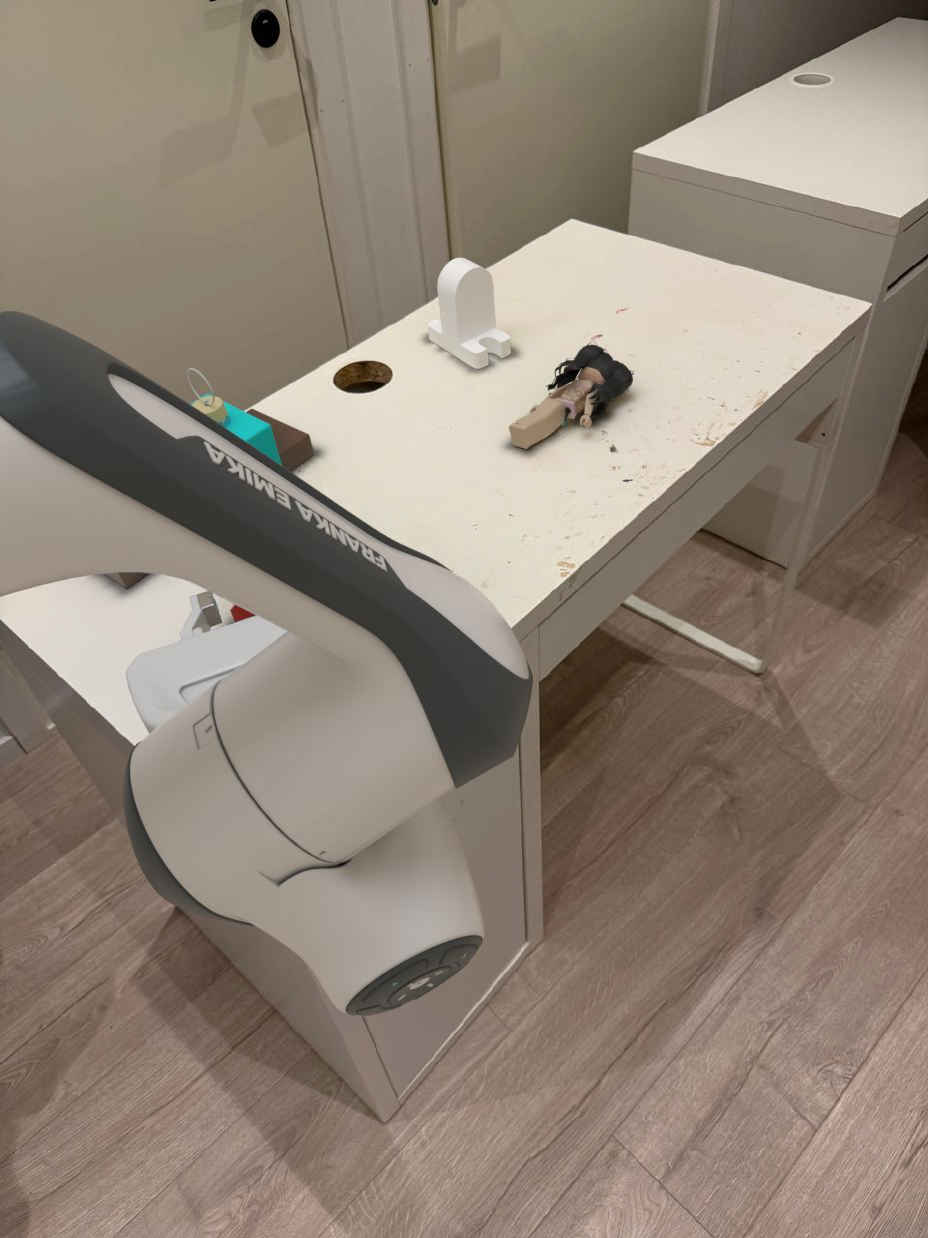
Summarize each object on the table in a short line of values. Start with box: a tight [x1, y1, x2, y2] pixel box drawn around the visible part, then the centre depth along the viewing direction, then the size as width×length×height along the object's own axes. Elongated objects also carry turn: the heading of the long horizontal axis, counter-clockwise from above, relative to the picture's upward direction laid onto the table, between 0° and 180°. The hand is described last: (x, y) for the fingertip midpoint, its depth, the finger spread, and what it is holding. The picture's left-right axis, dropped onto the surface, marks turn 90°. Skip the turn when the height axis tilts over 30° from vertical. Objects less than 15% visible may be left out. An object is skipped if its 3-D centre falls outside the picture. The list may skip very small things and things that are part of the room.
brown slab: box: [104, 408, 315, 590], centre depth 87 cm, size 24×9×2 cm, turn 141°
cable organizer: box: [427, 257, 512, 370], centre depth 101 cm, size 5×10×10 cm, turn 37°
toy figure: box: [508, 341, 635, 450], centre depth 91 cm, size 7×6×15 cm
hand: (271, 577), depth 60 cm, fingers open, 8 cm apart
